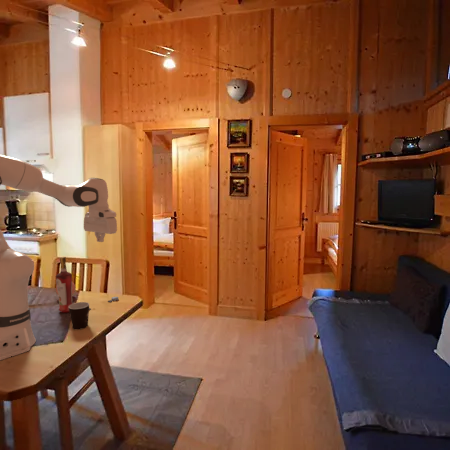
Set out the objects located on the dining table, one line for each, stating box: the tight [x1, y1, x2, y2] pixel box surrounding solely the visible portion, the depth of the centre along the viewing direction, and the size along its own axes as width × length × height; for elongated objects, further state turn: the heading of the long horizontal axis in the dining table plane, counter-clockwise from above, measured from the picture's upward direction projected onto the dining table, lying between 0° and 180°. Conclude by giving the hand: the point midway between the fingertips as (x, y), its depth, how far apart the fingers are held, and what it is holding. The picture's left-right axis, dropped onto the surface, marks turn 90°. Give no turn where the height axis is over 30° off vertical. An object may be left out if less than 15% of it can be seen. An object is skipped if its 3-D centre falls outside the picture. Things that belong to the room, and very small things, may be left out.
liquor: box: [55, 256, 73, 314], centre depth 167 cm, size 7×7×28 cm
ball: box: [55, 281, 76, 296], centre depth 188 cm, size 10×10×10 cm
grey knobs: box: [89, 296, 119, 311], centre depth 176 cm, size 24×4×1 cm, turn 148°
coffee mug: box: [68, 301, 90, 331], centre depth 151 cm, size 12×9×10 cm
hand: (100, 241), depth 157 cm, fingers closed
